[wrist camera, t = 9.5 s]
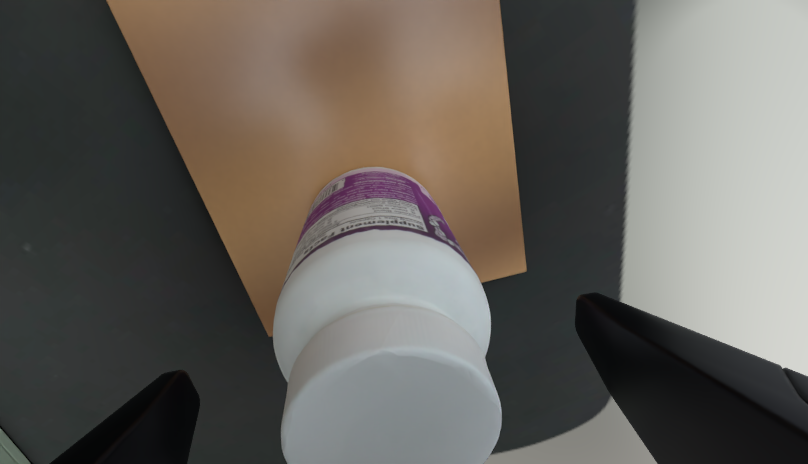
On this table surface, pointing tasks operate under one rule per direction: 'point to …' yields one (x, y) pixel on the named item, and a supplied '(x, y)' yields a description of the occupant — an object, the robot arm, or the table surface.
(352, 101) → the wooden board
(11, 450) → the tray
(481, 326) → the pill bottle
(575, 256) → the table surface
